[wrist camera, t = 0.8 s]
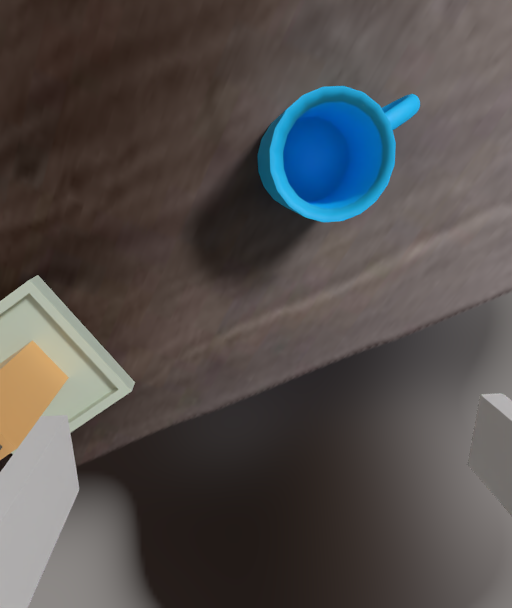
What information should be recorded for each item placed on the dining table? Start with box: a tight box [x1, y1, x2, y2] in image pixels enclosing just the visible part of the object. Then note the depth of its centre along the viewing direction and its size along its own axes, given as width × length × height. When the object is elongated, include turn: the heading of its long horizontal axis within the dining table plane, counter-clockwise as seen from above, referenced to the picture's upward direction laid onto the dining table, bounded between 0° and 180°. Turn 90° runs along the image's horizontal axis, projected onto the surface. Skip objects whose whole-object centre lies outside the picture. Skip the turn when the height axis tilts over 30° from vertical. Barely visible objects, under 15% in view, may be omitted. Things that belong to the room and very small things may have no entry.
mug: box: [258, 86, 420, 222], centre depth 30 cm, size 12×8×8 cm
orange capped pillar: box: [0, 340, 69, 460], centre depth 31 cm, size 4×4×11 cm
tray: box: [0, 275, 135, 454], centre depth 36 cm, size 13×13×2 cm
